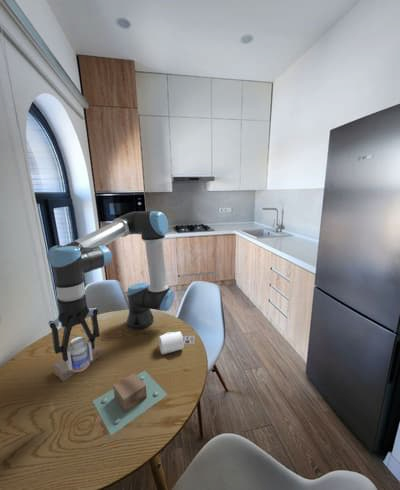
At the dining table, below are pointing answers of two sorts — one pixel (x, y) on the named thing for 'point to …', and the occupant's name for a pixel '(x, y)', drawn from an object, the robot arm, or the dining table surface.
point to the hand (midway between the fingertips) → (80, 362)
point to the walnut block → (130, 392)
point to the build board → (116, 416)
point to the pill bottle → (79, 354)
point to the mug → (171, 342)
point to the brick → (63, 370)
